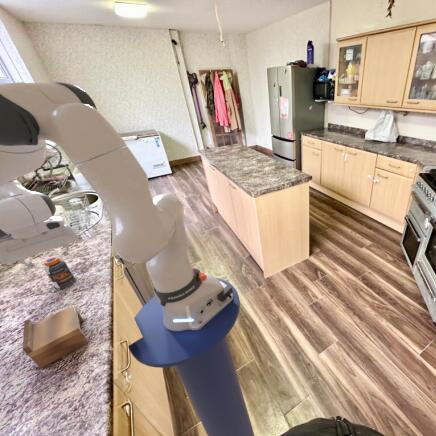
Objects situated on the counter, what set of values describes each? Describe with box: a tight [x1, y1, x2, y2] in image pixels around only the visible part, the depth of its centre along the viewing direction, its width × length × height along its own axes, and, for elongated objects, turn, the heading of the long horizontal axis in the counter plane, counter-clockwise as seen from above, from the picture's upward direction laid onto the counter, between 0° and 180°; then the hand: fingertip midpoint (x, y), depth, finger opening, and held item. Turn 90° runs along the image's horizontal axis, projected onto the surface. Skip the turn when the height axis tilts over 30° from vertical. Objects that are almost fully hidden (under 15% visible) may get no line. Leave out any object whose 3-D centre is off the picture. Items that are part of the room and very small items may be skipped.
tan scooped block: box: [22, 304, 89, 369], centre depth 65 cm, size 10×12×8 cm
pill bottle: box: [43, 256, 76, 289], centre depth 87 cm, size 6×6×11 cm
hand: (50, 260), depth 85 cm, fingers open, 8 cm apart
